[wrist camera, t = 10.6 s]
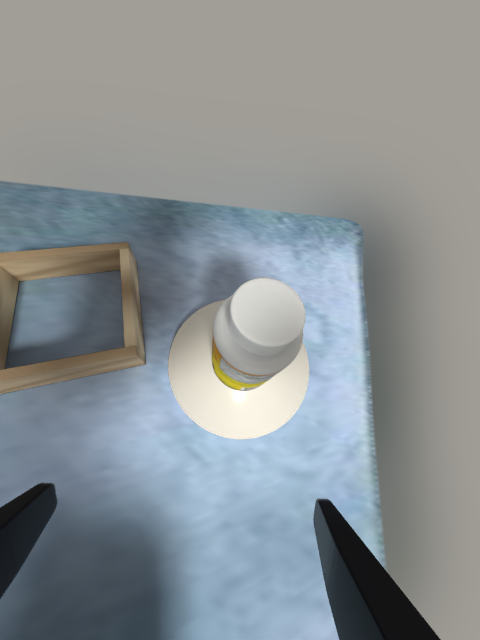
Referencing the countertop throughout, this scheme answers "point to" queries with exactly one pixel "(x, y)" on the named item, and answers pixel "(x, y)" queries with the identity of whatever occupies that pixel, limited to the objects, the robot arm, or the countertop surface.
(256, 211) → the countertop surface
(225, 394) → the plate
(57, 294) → the countertop surface
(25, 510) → the robot arm
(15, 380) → the bin frame
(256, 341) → the supplement bottle
